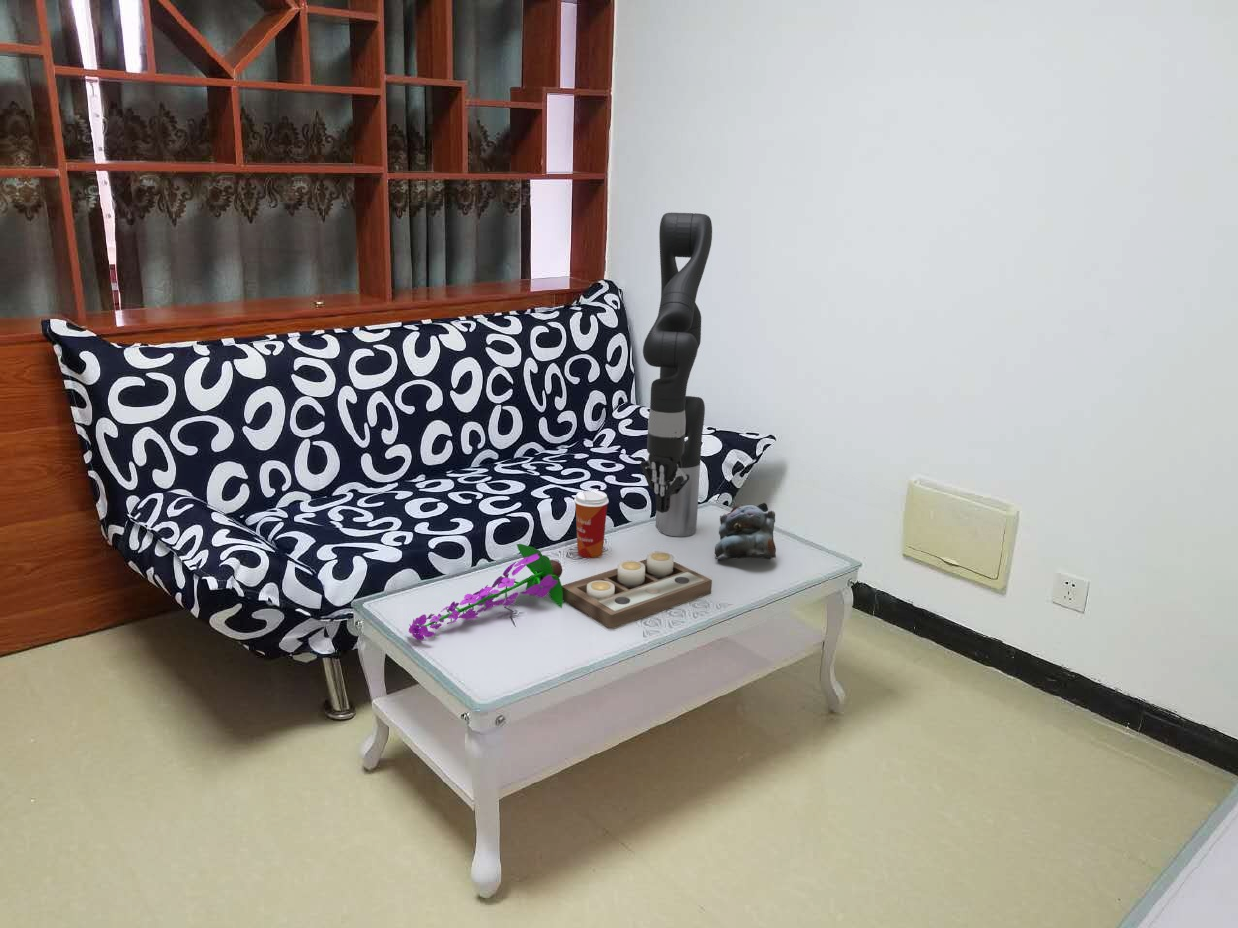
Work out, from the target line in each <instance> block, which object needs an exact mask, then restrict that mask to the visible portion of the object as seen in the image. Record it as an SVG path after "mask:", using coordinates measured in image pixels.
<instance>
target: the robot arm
mask: <svg viewBox="0 0 1238 928" xmlns="http://www.w3.org/2000/svg"><path fill="white" fill-rule="evenodd" d="M660 219H661V220H660V224H659V234H658V235H659V260H660V261H659V262H660V263H659V265H660V280H661V281H660V284H661V285H660V289H661V290H660V302H659V309H658V313H657V317H656V320H655V322H653V325H652V327H651V328H650V330H649V332H648V334H647V335H646V338H644V342H643V346H642V354H643V355H642V356H643V359H644V360H645V363H647V364H648V365H649V366H650V367H654V368H659V378H656V379H655V380H653V381H652V382H651V387H650V401H649V404H650V405H649V406H650V407H649V414H648V421H647V441H646V450H647V453H648V459H647V460H645V461H641V462H640V463H639V466H640V468H641V470H642V473H643V475H644V478H645V480H646V483H647V484H648V487H649V489H651V490H652V489H653V491H654V493H655V507H656V508H655V509H656V510H655V527H656V528H657V529H658V531H659V532H660V533H661V534H664V535H667V536H669V537H670V536H672V537H688V536H691V535H694V534H696V533H697V525H698V524H697V523H698V522H697V521H698V508H699V493H700V489H699V488H700V478H701V476H700V473H701V457H702V455H701V454H702V443H703V442H702V441H703V433H704V432H703V431H704V423H705V414H706V407H705V402H704V399H703V398H702V397H699V396H692V395H687V389H688V388H687V387H688V382H689V379H690V375H691V372H692V369H693V366H694V363H695V362H696V361H695V360H696V358H697V355H698V349H699V348H700V345H701V342H702V341H701V337H702V336H701V335H702V314H701V311H700V309H699V306H698V305H697V303H696V299H697V295H698V290H699V287H700V284H701V281H702V278H703V275H704V272H705V270H706V269H705V268H706V266H707V261H708V258H709V256H710V252H711V247H712V242H713V225H712V219H711V218H710V216H709V215H707V214H705V213H695V212H694V213H693V212H692V213H691V212H666V213H664V214H663V215H662V217H661V218H660ZM676 258H689V260H688V261H687V262H686V263H685V265H684V266H683V267H682V268H681V269H680V270H679V269H678V265H677V260H676ZM686 437H687V439H686ZM685 439H686V440H685Z"/></svg>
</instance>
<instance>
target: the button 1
mask: <svg viewBox="0 0 1238 928" xmlns="http://www.w3.org/2000/svg"><path fill="white" fill-rule="evenodd" d="M587 594H588V595H590V596H592V597H593V598H595V599H597V600H600V599H603V598H606V597H609V596H612V595H615V586H614V584H613V583H611V582H608V581H602V580H598V581H592V582H590V583H588V584H587Z"/></svg>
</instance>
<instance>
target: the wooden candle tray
mask: <svg viewBox="0 0 1238 928" xmlns="http://www.w3.org/2000/svg"><path fill="white" fill-rule="evenodd" d="M638 562H641V563H643V564H644V565H645V581H644V582H643V583H642V584H639V585H625V584H622V583H620V582H619V581H618V580H617V577H618V567H616V568H614V569H610V570H608V571H604V572H600V573H598V574H594V575H591V576H587V577H585V578H582V579H579V580H575V581H573V582H569V583H566V584H561V585H562V592H563V602H565V603H566V604H567V605H569V606H571V607H572V608H574V609H576V610H578V611H579V612H581V613H583V614H584V615H586V616H587V617H589V618H591V619H593V620H595V621H596V622H597V623H599V624H601V625H603V627H607V628H608V629H610V630H613V629H615V628H618V627H621V626H624V625H627V624H629V623H632V622H635V621H637V620H640V619H643V618H646V617H649V616H652V615H654V614H657V613H659V612H663V611H666V610H668V609H671V608H673V607H674V608H675V607H676V606H679V605H682V604H684V603H687V602H690V601H693V600H695V599H699V598H702V597H704V596H707V595H710V594H712V586H713V585H712V583H713V579H711V578H710V577H707V576H705V575H703V574H701V573H698V572H696V571H694V570H693V569H690V568H688V567H686V566H684V565H682V564H680V563H677V562H675V561H674V563H673V572H672V573H671V574H669V575H664V576H658V575H653V574H650V573H648V572H647V558H645V559H643V560H638ZM598 580H602V581H608V582H611V583H613V584H614V586H615V595H612V596H609V597H606V598H603V599H600V600H597V599H595V598H593V597H592V596H590V595H588V594H587V584H588V583H590V582H592V581H598Z"/></svg>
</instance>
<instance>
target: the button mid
mask: <svg viewBox="0 0 1238 928" xmlns="http://www.w3.org/2000/svg"><path fill="white" fill-rule="evenodd" d="M617 568H618V577H617V580H618V581H619V582H620V583H622V584H625V585H639V584H642V583H643V582H644V581H645V565H644V564H643V563H641V562H639V560H638V561H637V560H623V561H621V562H619V563H618V564H617Z"/></svg>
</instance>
